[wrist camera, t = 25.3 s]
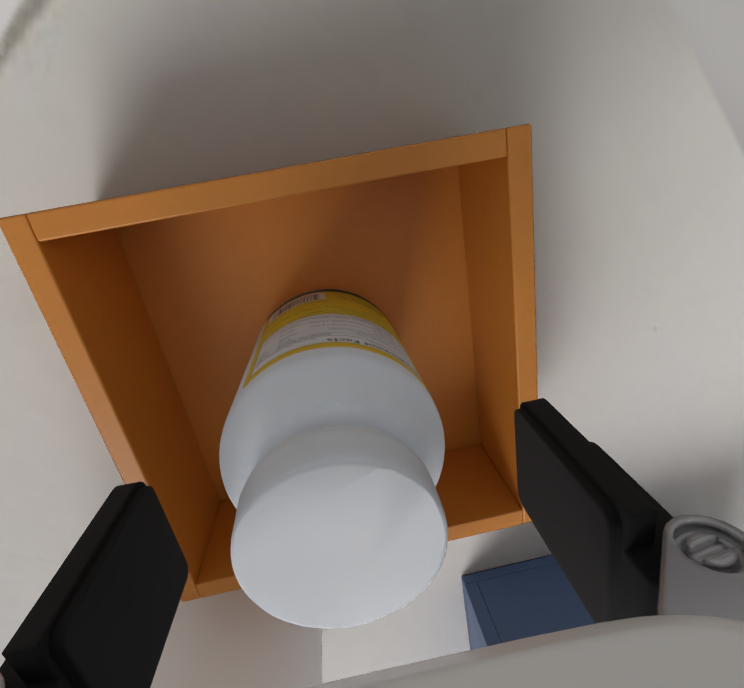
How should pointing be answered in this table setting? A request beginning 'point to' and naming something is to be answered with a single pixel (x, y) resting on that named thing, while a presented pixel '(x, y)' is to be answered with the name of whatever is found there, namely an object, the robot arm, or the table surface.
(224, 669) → the can
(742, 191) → the table surface
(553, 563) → the blue bin
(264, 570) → the pill bottle
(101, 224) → the amber bin
